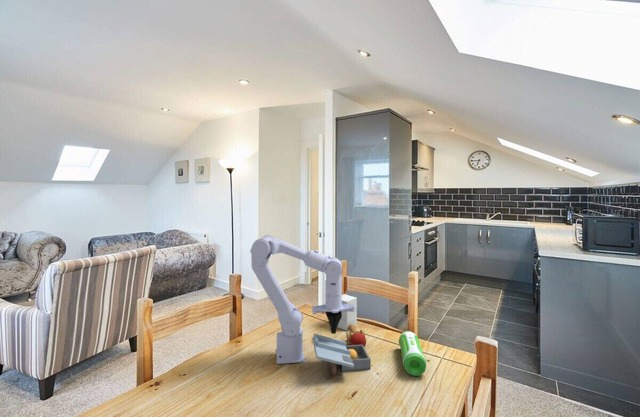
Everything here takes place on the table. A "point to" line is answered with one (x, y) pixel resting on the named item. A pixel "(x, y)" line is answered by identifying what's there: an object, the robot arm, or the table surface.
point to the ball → (353, 354)
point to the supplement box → (348, 313)
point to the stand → (332, 370)
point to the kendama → (355, 336)
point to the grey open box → (358, 359)
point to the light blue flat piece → (332, 350)
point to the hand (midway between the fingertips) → (333, 332)
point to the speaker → (412, 354)
